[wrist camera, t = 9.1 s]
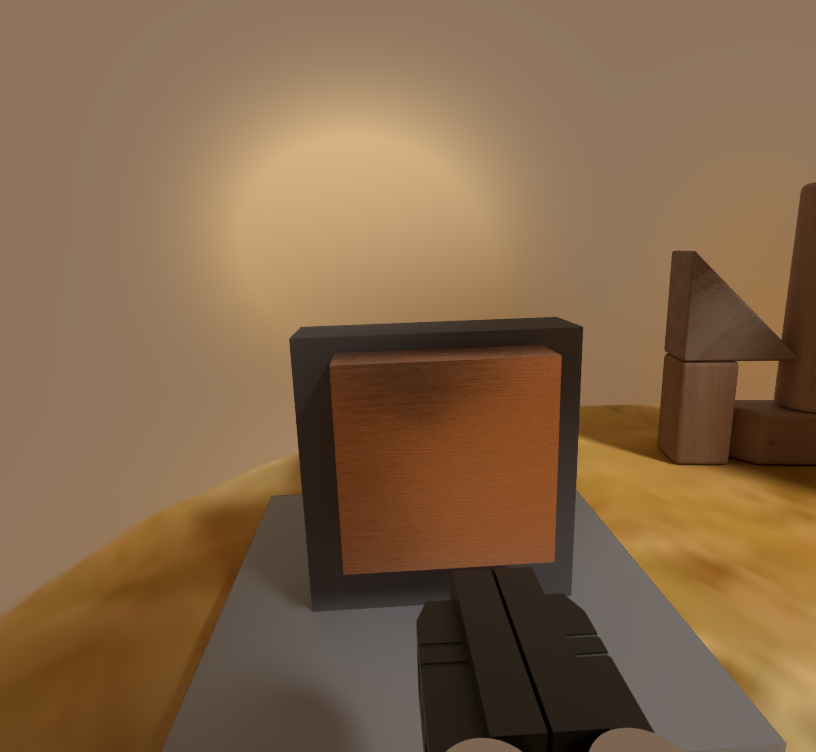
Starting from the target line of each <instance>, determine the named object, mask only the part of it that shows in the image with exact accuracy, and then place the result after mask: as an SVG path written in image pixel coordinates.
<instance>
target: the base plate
mask: <svg viewBox="0 0 816 752" xmlns="http://www.w3.org/2000/svg"><path fill="white" fill-rule="evenodd" d="M567 597H568V598H569V599H571V600H572V601H573V602H574V603H576V604H577V605H578V606H579V607H580V608H582V609H583V610H584V611H585V612H586V614H587V616H588V618H589V619H590V621H591V623H592V625H593V626H594V628H595V630H596V631H597V635H598V637H600V638H601V640H602V642H603V644H604V645H605V647H606V649H607V651H608V655H609V657H610V656H611V658H612V659H613V661H614V663H615V665H616V666H617V668H618V670H619V672H620V673H621V675H622V677H623V678H624V680H625V682H626V684H627V685H628V687H629V689H630V691H631V692H632V694H633V696H634V698H635V699H636V701H637V703H638V705H639V706H640V708H641V710H642V712H643V713H644V715H645V717H646V718H647V720H648V722H649V724H650V725H651V727H652V729H653V731H654V732H655V734H658V735H660V736H662V737H664V738H666V739H668V740H669V741H671V742H673V743H674V744H676V745H677V746H679V747H680V748H681V749H682V750H684V751H685V752H785V748H786V742H785V741H784V740H783V739H782V737H781V736H780V735H779V734H778V733H777V731H776V730H775V729H774V728H773V727H772V725H771V724H770V723H769V722H768V721H767V719H766V718H765V717H764V716H763V715H762V713H761V712H760V711H759V710H758V709H757V707H756V706H755V705H754V704H753V702H752V701H751V700H750V699H749V698H748V696H747V695H746V694H745V693H744V692H743V690H742V689H741V688H740V687H739V686H738V684H737V683H736V682H735V681H734V680H733V678H732V677H731V676H730V675H729V673H728V672H727V671H726V670H725V669H724V667H723V666H722V665H721V664H720V663H719V661H718V660H717V659H716V658H715V657H714V655H713V654H712V653H711V652H710V651H709V649H708V648H707V647H706V646H705V644H704V643H703V642H702V641H701V640H700V638H699V637H698V636H697V635H696V634H695V632H694V631H693V630H692V629H691V628H690V626H689V625H688V624H687V623H686V622H685V620H684V619H683V618H682V617H681V616H680V614H679V613H678V612H677V611H676V609H675V608H674V607H673V606H672V605H671V603H670V602H669V601H668V600H667V599H666V597H665V596H664V595H663V594H662V593H661V591H660V590H659V589H658V588H657V587H656V585H655V584H654V583H653V582H652V580H651V579H650V578H649V577H648V576H647V574H646V573H645V572H644V571H643V570H642V568H641V567H640V566H639V565H638V564H637V562H636V561H635V560H634V559H633V558H632V556H631V555H630V554H629V553H628V552H627V550H626V549H625V548H624V547H623V545H622V544H621V543H620V542H619V541H618V539H617V538H616V537H615V536H614V535H613V533H612V532H611V531H610V530H609V529H608V527H607V526H606V525H605V524H604V523H603V521H602V520H601V519H600V518H599V516H598V515H597V514H596V513H595V512H594V510H593V509H592V508H591V507H590V506H589V504H588V503H587V502H586V501H585V500H584V498H583V497H582V496H581V495H580V494H579V492H578V491H577V490H576V501H575V524H574V546H573V569H572V592H571V596H567ZM423 606H424V605H415V606H399V607H383V608H368V609H352V610H336V611H321V612H312V603H311V591H310V579H309V567H308V555H307V543H306V531H305V519H304V508H303V496H302V494H298V495H279V496H271V498H270V501H269V503H268V505H267V508H266V510H265V512H264V515H263V517H262V519H261V522H260V524H259V526H258V529H257V531H256V533H255V535H254V538H253V540H252V542H251V545H250V547H249V549H248V552H247V554H246V556H245V559H244V561H243V563H242V566H241V568H240V570H239V572H238V575H237V577H236V579H235V582H234V584H233V586H232V589H231V591H230V593H229V596H228V598H227V600H226V603H225V605H224V607H223V609H222V612H221V614H220V616H219V619H218V621H217V623H216V626H215V628H214V630H213V633H212V635H211V637H210V640H209V642H208V644H207V647H206V649H205V651H204V653H203V656H202V658H201V660H200V663H199V665H198V667H197V670H196V672H195V674H194V677H193V679H192V681H191V684H190V686H189V688H188V690H187V693H186V695H185V697H184V700H183V702H182V704H181V707H180V709H179V711H178V714H177V716H176V718H175V721H174V723H173V725H172V727H171V730H170V732H169V734H168V737H167V739H166V741H165V744H164V746H163V748H162V751H161V752H424V751H423V740H422V729H421V717H420V706H419V694H418V664H417V630H416V621H417V619H418V617H419V615H420V612H421V610H422V608H423Z"/></svg>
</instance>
